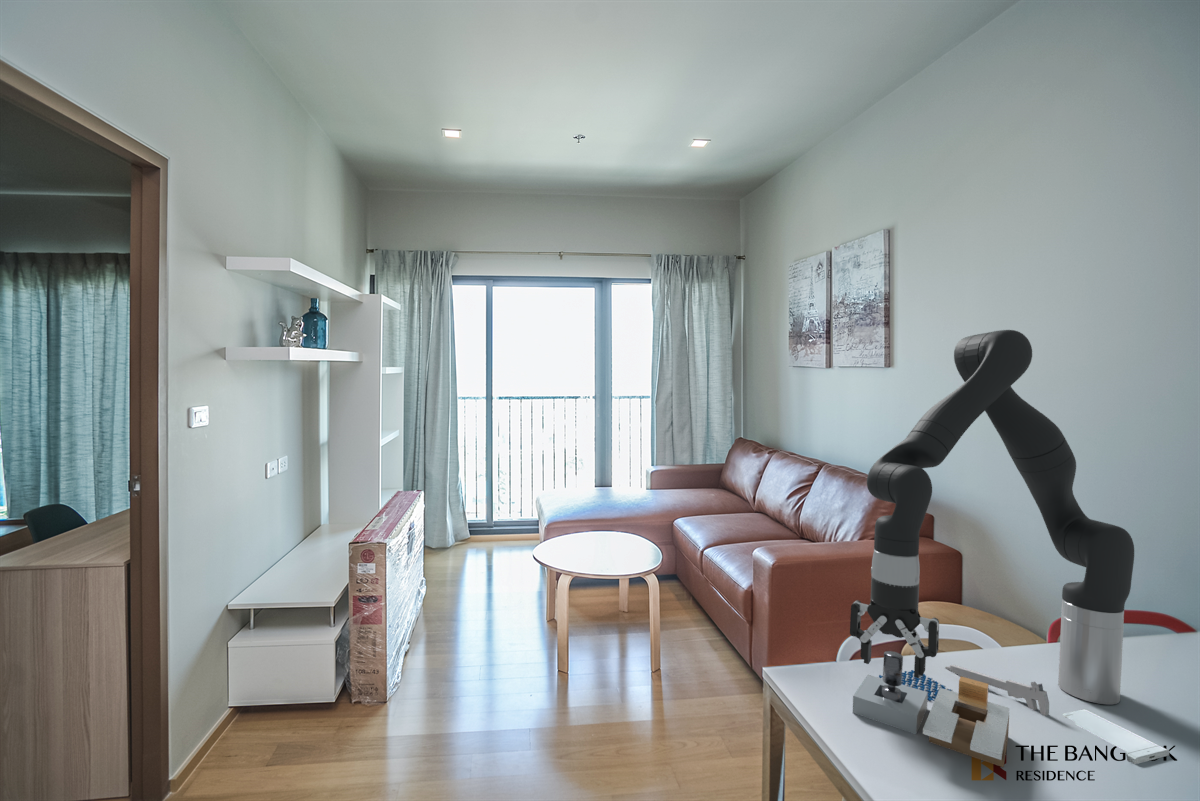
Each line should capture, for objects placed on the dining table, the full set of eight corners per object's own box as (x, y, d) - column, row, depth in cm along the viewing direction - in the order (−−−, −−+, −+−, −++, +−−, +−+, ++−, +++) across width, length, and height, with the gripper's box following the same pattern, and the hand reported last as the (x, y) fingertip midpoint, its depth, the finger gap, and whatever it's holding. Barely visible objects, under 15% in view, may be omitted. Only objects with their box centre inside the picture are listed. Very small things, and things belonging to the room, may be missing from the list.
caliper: (1048, 722, 105) (1050, 687, 105) (1044, 723, 105) (1046, 688, 105) (948, 668, 124) (949, 638, 124) (944, 669, 124) (945, 639, 124)
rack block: (867, 695, 112) (867, 674, 112) (926, 714, 106) (927, 692, 106) (852, 718, 104) (853, 695, 104) (916, 740, 98) (916, 716, 98)
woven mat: (915, 677, 121) (915, 667, 121) (961, 704, 111) (961, 693, 111) (873, 683, 118) (873, 673, 118) (916, 712, 108) (917, 701, 108)
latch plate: (939, 692, 104) (940, 670, 104) (1009, 712, 98) (1010, 689, 98) (922, 733, 91) (923, 709, 91) (1001, 760, 85) (1002, 734, 85)
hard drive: (1053, 715, 105) (1135, 757, 93) (1085, 708, 108) (1169, 748, 96) (1052, 724, 105) (1134, 767, 93) (1085, 717, 108) (1169, 758, 96)
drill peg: (883, 704, 107) (886, 649, 107) (901, 710, 106) (904, 654, 105) (879, 711, 105) (882, 655, 105) (897, 717, 103) (900, 660, 103)
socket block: (938, 720, 104) (939, 692, 104) (1007, 742, 98) (1009, 712, 98) (928, 747, 96) (929, 717, 96) (1003, 773, 90) (1004, 741, 90)
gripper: (945, 580, 103) (941, 674, 104) (857, 563, 112) (854, 650, 112) (937, 592, 97) (934, 691, 98) (846, 573, 106) (843, 664, 107)
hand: (891, 668), depth 105 cm, fingers open, 7 cm apart
